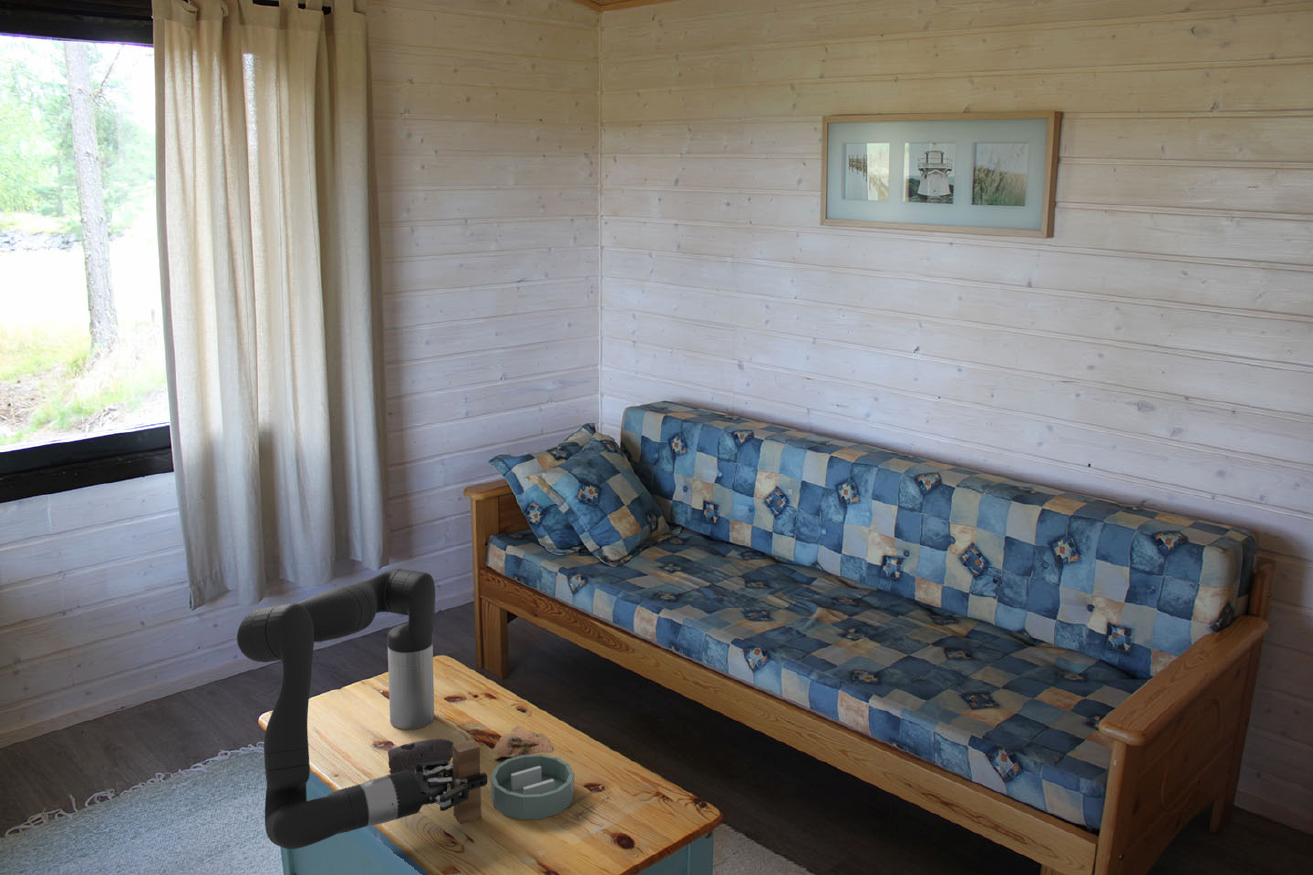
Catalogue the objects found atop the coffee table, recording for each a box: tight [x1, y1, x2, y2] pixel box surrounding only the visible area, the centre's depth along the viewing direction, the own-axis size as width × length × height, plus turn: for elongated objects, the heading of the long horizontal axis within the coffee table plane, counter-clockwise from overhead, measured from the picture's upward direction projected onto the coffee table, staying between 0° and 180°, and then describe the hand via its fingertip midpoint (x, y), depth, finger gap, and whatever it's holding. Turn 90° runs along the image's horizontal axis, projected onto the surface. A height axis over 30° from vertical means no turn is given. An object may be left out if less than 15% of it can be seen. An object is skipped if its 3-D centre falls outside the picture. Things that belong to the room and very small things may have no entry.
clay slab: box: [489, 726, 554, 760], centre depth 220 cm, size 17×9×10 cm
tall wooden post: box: [452, 739, 482, 825], centre depth 194 cm, size 3×4×14 cm
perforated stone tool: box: [387, 738, 455, 774], centre depth 208 cm, size 15×5×7 cm, turn 130°
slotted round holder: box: [490, 753, 575, 821], centre depth 202 cm, size 15×15×4 cm
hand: (480, 772), depth 195 cm, fingers open, 4 cm apart
